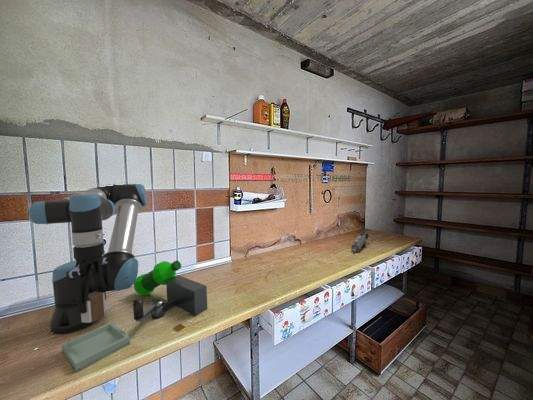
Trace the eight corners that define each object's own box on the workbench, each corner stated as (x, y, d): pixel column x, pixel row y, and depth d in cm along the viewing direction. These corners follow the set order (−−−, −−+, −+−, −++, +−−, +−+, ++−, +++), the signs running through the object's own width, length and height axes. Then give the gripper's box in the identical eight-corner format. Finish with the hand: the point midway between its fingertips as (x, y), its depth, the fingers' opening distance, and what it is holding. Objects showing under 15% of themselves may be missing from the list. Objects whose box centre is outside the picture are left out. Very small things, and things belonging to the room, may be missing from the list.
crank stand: (143, 312, 93) (141, 288, 93) (179, 296, 107) (178, 275, 106) (175, 333, 80) (173, 305, 79) (212, 311, 93) (211, 287, 92)
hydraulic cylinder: (370, 240, 191) (370, 229, 189) (358, 259, 162) (358, 246, 160) (361, 239, 195) (360, 228, 193) (348, 257, 167) (347, 244, 165)
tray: (62, 351, 72) (61, 344, 72) (112, 328, 83) (112, 322, 83) (76, 372, 64) (75, 364, 64) (130, 343, 75) (129, 336, 75)
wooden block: (91, 323, 70) (89, 298, 70) (83, 321, 72) (81, 296, 71) (105, 316, 74) (103, 292, 73) (96, 314, 75) (95, 290, 75)
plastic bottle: (151, 283, 116) (188, 261, 110) (144, 302, 108) (183, 280, 102) (134, 273, 112) (172, 250, 105) (125, 292, 103) (165, 268, 97)
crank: (155, 301, 94) (154, 283, 93) (166, 301, 93) (165, 284, 93) (129, 323, 79) (128, 302, 78) (143, 324, 78) (141, 303, 78)
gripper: (72, 252, 62) (79, 335, 64) (120, 237, 80) (125, 302, 81) (47, 252, 63) (55, 334, 64) (101, 237, 80) (105, 302, 82)
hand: (94, 316), depth 73 cm, fingers closed on wooden block, 5 cm apart
